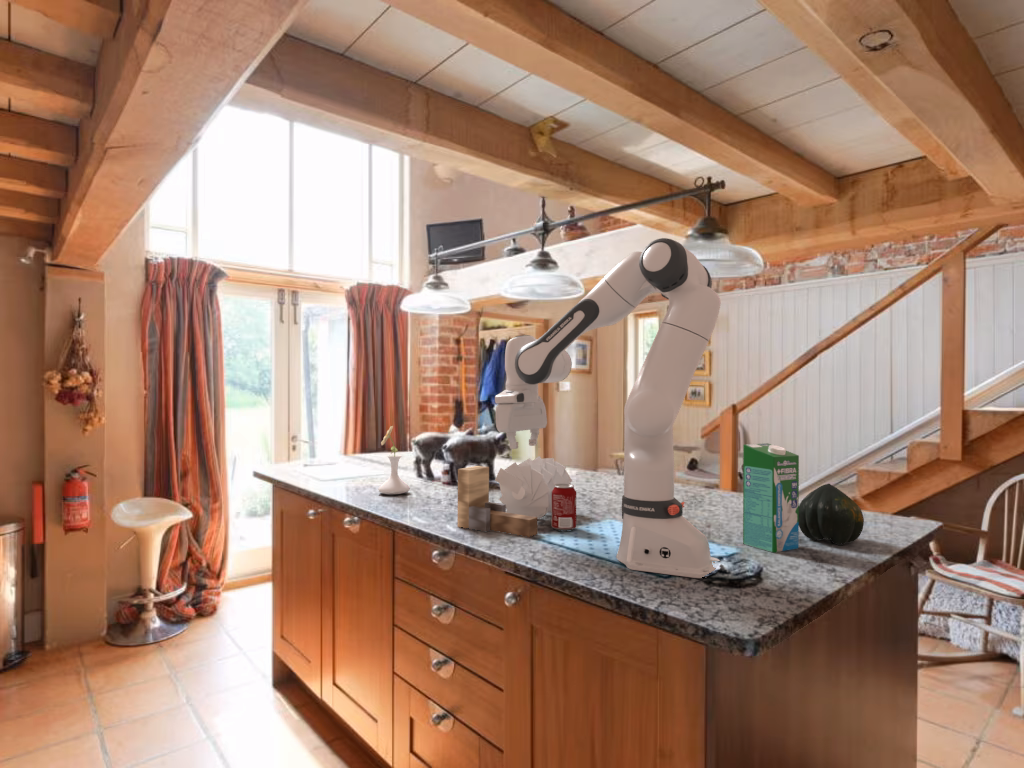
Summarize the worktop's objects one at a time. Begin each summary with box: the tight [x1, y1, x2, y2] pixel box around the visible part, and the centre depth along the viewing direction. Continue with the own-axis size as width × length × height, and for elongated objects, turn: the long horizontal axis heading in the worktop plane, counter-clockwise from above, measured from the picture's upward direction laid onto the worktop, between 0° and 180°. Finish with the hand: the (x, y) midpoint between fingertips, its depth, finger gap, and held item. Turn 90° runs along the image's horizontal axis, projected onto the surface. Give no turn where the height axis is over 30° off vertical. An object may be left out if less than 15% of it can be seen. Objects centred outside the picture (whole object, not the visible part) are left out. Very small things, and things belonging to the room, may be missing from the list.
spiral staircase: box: [494, 455, 573, 520], centre depth 177 cm, size 18×18×25 cm
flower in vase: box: [377, 425, 411, 496], centre depth 212 cm, size 13×11×25 cm
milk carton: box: [742, 442, 800, 554], centre depth 144 cm, size 9×9×25 cm
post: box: [456, 465, 507, 532], centre depth 163 cm, size 10×9×16 cm
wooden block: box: [483, 506, 538, 538], centre depth 158 cm, size 16×4×6 cm, turn 55°
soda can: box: [551, 484, 577, 532], centre depth 161 cm, size 7×7×12 cm
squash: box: [799, 483, 865, 546], centre depth 151 cm, size 14×15×15 cm
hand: (523, 447), depth 158 cm, fingers open, 8 cm apart
